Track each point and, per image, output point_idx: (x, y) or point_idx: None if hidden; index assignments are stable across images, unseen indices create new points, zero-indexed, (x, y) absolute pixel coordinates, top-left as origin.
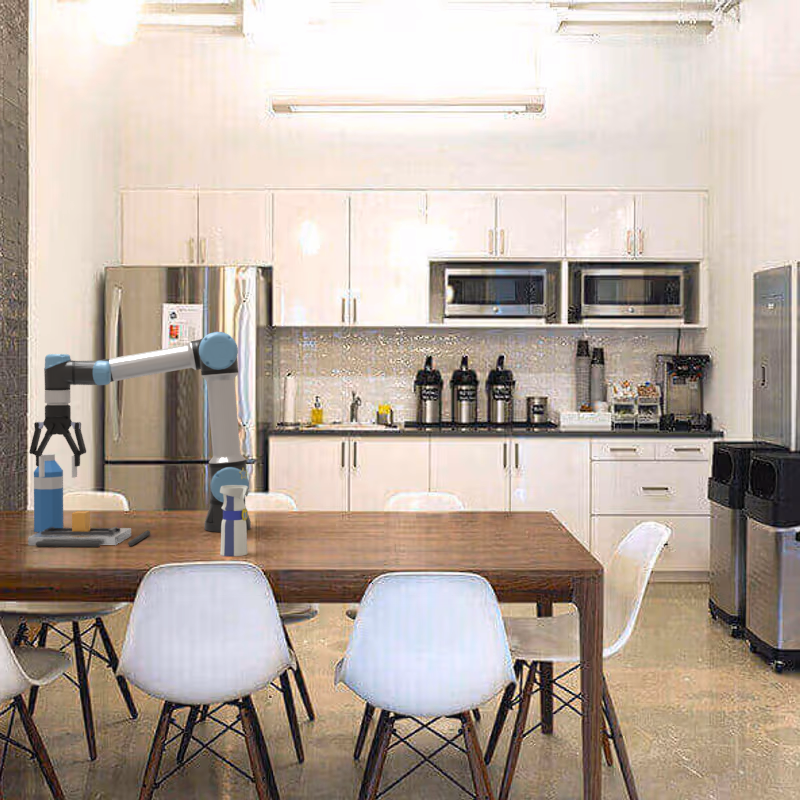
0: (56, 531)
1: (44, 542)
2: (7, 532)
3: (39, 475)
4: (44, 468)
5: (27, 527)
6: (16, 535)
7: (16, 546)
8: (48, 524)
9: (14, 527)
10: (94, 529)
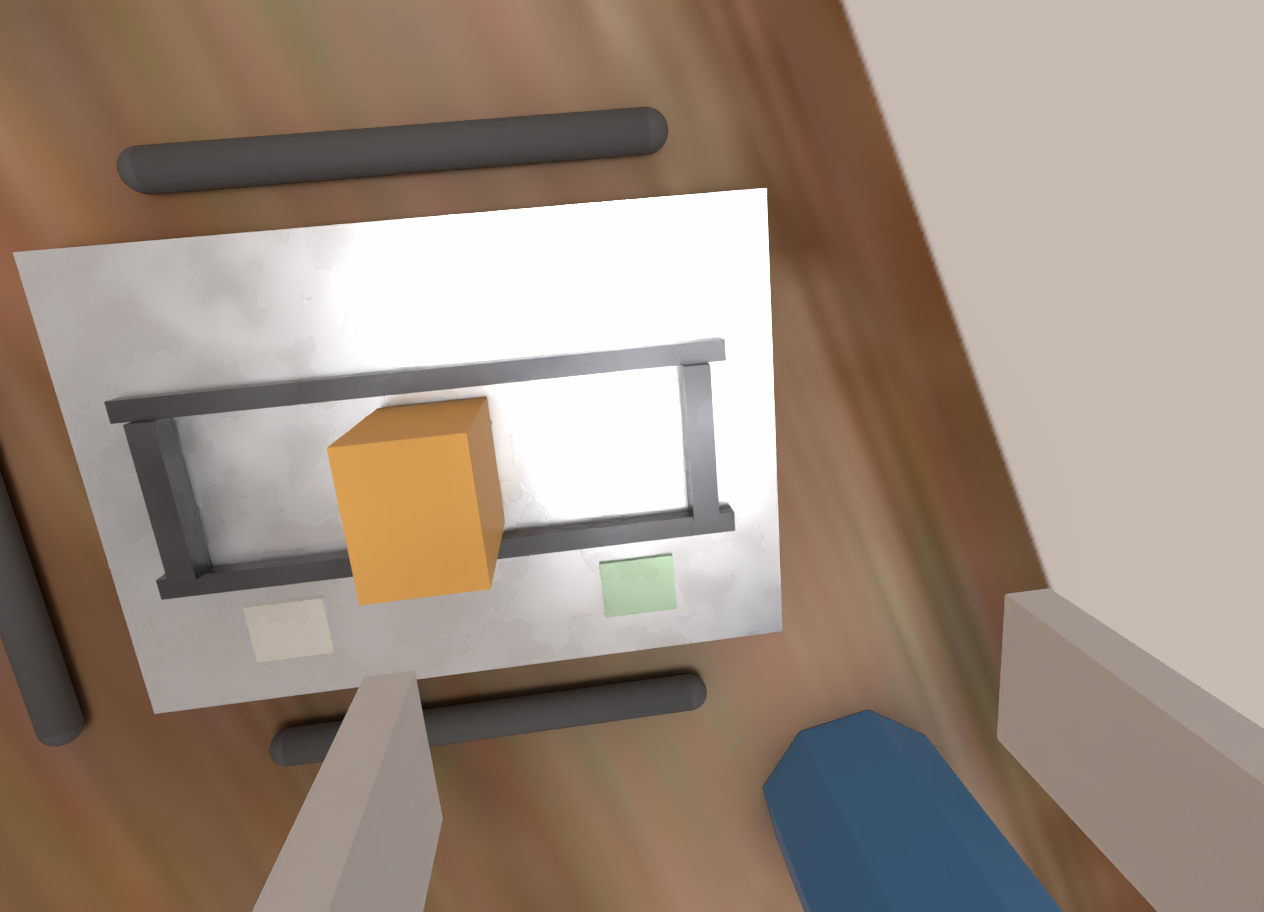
0: (605, 365)
1: (593, 115)
2: None
3: (1066, 605)
4: (1105, 852)
5: None
6: (984, 588)
7: (818, 143)
8: (844, 758)
9: (1094, 849)
10: None
